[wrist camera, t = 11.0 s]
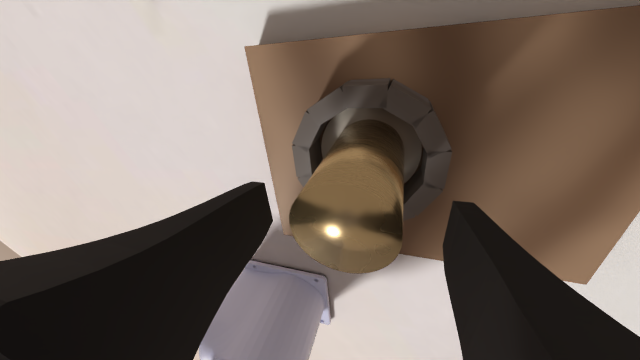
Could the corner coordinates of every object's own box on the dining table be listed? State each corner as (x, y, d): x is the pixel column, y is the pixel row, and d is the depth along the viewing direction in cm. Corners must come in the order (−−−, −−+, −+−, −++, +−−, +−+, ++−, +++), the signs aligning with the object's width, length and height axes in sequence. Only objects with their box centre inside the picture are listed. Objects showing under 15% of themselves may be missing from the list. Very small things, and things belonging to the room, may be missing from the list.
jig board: (290, 223, 21) (272, 251, 19) (258, 45, 14) (221, 47, 12) (571, 264, 15) (609, 316, 13) (744, -5, 8) (916, -26, 6)
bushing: (338, 180, 16) (298, 263, 10) (333, 120, 14) (279, 180, 8) (402, 183, 14) (399, 282, 9) (406, 118, 12) (406, 187, 7)
